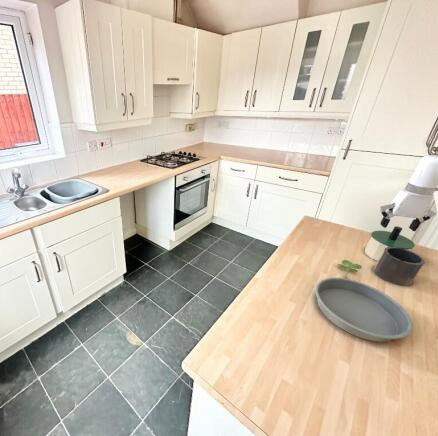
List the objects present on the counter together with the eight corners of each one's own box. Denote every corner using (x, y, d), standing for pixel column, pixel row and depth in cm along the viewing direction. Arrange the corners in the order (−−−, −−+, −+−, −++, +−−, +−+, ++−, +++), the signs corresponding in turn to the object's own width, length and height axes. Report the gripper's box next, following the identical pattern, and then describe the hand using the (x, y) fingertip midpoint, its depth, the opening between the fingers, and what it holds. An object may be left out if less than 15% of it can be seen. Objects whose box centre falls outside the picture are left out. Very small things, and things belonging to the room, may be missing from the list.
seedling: (340, 283, 99) (345, 270, 101) (362, 285, 91) (366, 270, 93) (328, 273, 98) (333, 260, 100) (349, 274, 91) (354, 259, 93)
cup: (400, 269, 99) (413, 249, 94) (418, 288, 89) (432, 267, 85) (368, 264, 102) (378, 244, 97) (381, 282, 92) (394, 261, 88)
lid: (401, 235, 106) (409, 222, 103) (421, 252, 95) (430, 238, 92) (364, 230, 110) (370, 218, 107) (379, 247, 99) (386, 233, 96)
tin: (392, 250, 110) (401, 234, 106) (409, 267, 99) (420, 250, 95) (359, 245, 113) (367, 230, 109) (372, 262, 103) (381, 245, 99)
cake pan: (404, 365, 65) (413, 355, 63) (303, 314, 80) (307, 304, 78) (406, 311, 81) (413, 301, 78) (320, 276, 96) (324, 267, 94)
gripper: (441, 188, 92) (417, 226, 100) (386, 183, 97) (368, 220, 105) (456, 195, 86) (429, 236, 94) (396, 190, 91) (376, 229, 99)
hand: (397, 227), depth 100 cm, fingers open, 9 cm apart
